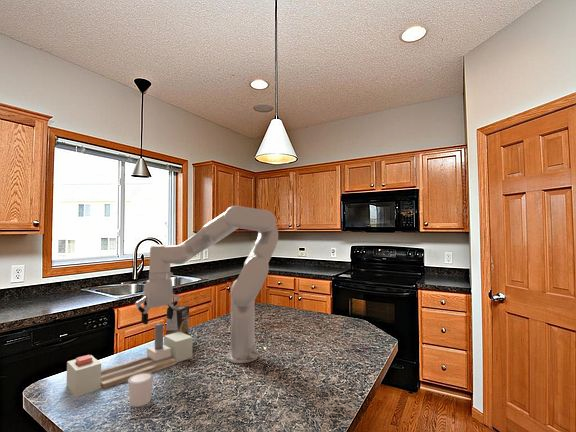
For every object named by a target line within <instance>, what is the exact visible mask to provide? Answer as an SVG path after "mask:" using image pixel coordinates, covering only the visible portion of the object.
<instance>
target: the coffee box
mask: <svg viewBox="0 0 576 432" xmlns="http://www.w3.org/2000/svg"><path fill="white" fill-rule="evenodd" d="M165 328H166V329H165V330H166V331H165V335H169V334H173V333H176V332H182V333H184V334H187V335H189V336H190V305H176V306H175V308H174V309H173V316H172V319H168V318H167V317H166V327H165Z"/></svg>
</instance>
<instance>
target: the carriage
mask: <svg viewBox="0 0 576 432" xmlns="http://www.w3.org/2000/svg"><path fill="white" fill-rule="evenodd" d="M146 356H148V357H149V358H151V359H153V360H154V361H157V360H160V359H163V358H166V357H169V356H171V348H169V347H167V346H165V345H164V323H161V322H160V323H156V324H154V345H152V346H150V347H147V348H146Z"/></svg>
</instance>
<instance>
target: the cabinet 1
mask: <svg viewBox="0 0 576 432" xmlns="http://www.w3.org/2000/svg"><path fill="white" fill-rule="evenodd" d="M89 355H90V356H91V357H92V363H89V364H86V365H82V366H79V367H78V366H77V365H76V358H75V359H71V360H68V361H67V362H66V388H67V389H68V390H69V391H70V393H71V395H73V397H74V398H77V397H80V396H83V395H86V394H90V393H92V392H95V391H97V390H98V391H99V390H100V389H102V387H101V370H102V362H101V361H100V360H98V359H97V358H95V357H94V355H92V354H89Z"/></svg>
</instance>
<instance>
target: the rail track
mask: <svg viewBox="0 0 576 432" xmlns="http://www.w3.org/2000/svg"><path fill="white" fill-rule="evenodd" d="M174 365H177V363H176V360H175V359H173V358H172V355H171V356H169V357H166V358H163V359H160V360H157V361H154V360H153V359H151V358H149V357H148V356H147V355H146V356H143V357H139V358H136V359H133V360H129V361H126V362H123V363H120V364H116V365H113V366H110V367H106V368H103V369H101V389H103V390H105V389H108V388H110V387H113V386H116V385H117V386H118V385H120V384H122V383H126V382H128V380H129V378H130V377H131V376H133V375H136V374H139V373H151V374H153V373H154V372H157V371H161V370H162V369H166V368H168V367H171V366H174Z"/></svg>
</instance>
